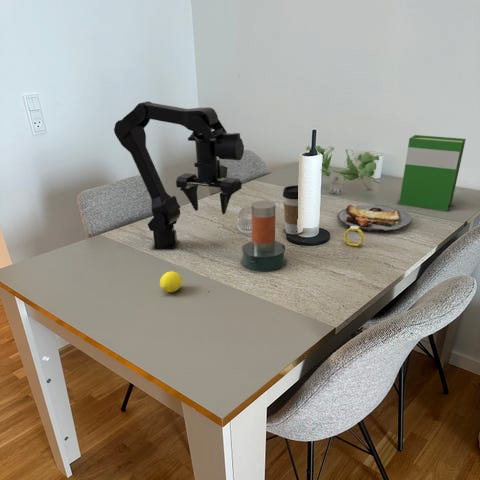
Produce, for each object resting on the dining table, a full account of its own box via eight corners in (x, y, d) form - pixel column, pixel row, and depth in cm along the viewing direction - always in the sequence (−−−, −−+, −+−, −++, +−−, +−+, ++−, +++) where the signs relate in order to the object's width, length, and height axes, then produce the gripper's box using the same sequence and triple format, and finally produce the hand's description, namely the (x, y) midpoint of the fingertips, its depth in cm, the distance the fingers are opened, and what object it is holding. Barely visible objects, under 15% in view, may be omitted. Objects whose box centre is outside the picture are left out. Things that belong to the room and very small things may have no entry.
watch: (363, 245, 146) (366, 227, 143) (360, 248, 144) (362, 230, 141) (345, 242, 149) (347, 224, 146) (342, 244, 147) (344, 226, 144)
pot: (232, 269, 134) (231, 255, 132) (255, 248, 146) (255, 235, 144) (272, 277, 129) (273, 262, 127) (293, 255, 142) (293, 241, 139)
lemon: (172, 298, 120) (170, 280, 117) (155, 294, 123) (153, 275, 120) (188, 287, 125) (186, 269, 122) (172, 283, 128) (170, 265, 125)
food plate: (330, 229, 159) (331, 219, 157) (344, 208, 177) (345, 199, 175) (407, 238, 151) (408, 227, 149) (413, 215, 169) (414, 205, 167)
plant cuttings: (310, 197, 212) (288, 176, 194) (324, 162, 211) (303, 137, 193) (381, 212, 192) (364, 190, 174) (397, 173, 192) (382, 147, 173)
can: (257, 254, 132) (257, 209, 125) (248, 245, 137) (247, 202, 130) (278, 250, 134) (279, 206, 127) (269, 242, 139) (269, 199, 132)
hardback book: (451, 205, 177) (465, 138, 164) (447, 210, 172) (461, 142, 159) (404, 198, 185) (414, 134, 173) (399, 203, 180) (409, 138, 167)
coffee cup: (305, 236, 154) (308, 191, 146) (280, 235, 155) (281, 190, 148) (307, 227, 161) (310, 184, 153) (283, 226, 162) (284, 183, 155)
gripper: (249, 154, 132) (250, 207, 140) (192, 149, 139) (196, 200, 147) (231, 163, 124) (233, 219, 132) (172, 157, 131) (177, 211, 139)
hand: (210, 212), depth 138 cm, fingers open, 9 cm apart
